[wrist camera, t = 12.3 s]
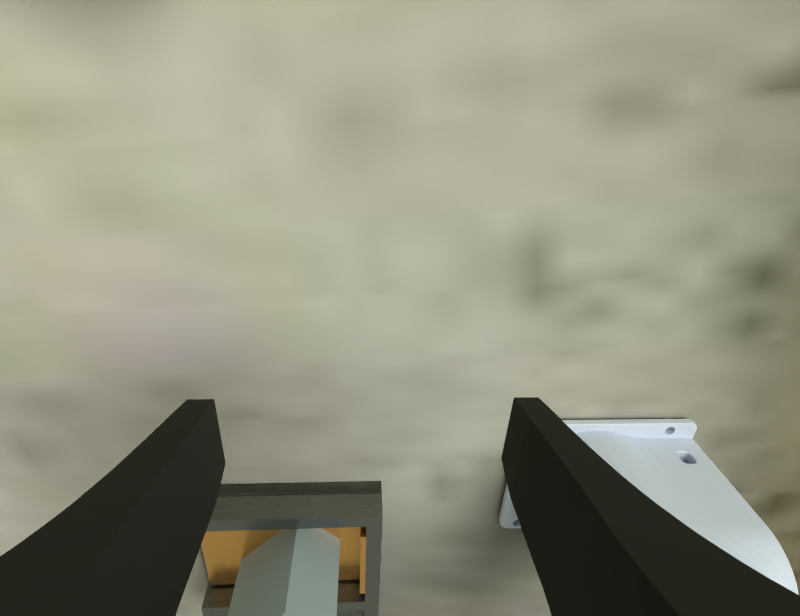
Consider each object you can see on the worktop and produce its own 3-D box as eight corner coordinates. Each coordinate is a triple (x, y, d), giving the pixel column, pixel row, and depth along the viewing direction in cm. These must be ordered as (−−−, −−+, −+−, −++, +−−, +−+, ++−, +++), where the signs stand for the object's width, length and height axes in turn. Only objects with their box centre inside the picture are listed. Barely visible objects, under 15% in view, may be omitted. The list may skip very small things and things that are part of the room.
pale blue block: (340, 538, 26) (335, 636, 22) (282, 580, 28) (267, 679, 23) (298, 515, 25) (284, 613, 21) (241, 560, 27) (216, 660, 22)
